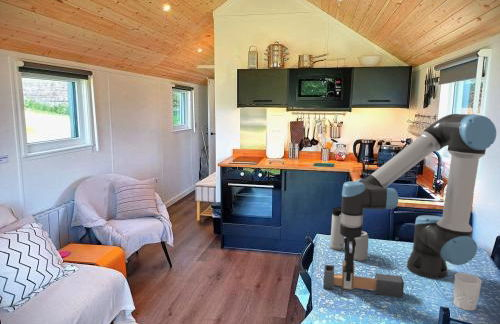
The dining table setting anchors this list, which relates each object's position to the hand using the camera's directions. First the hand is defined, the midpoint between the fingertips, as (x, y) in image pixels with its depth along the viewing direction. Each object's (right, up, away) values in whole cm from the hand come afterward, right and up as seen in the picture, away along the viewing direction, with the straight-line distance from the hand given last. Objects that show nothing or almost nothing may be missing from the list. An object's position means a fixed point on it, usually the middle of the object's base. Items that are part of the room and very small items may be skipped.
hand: (347, 284), depth 133 cm
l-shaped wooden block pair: (+2, -1, 0) cm, 2 cm away
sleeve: (+14, -2, -3) cm, 15 cm away
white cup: (+38, -4, -10) cm, 39 cm away
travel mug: (+6, +4, +37) cm, 38 cm away
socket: (-7, -1, +2) cm, 7 cm away
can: (+12, +2, +27) cm, 30 cm away
